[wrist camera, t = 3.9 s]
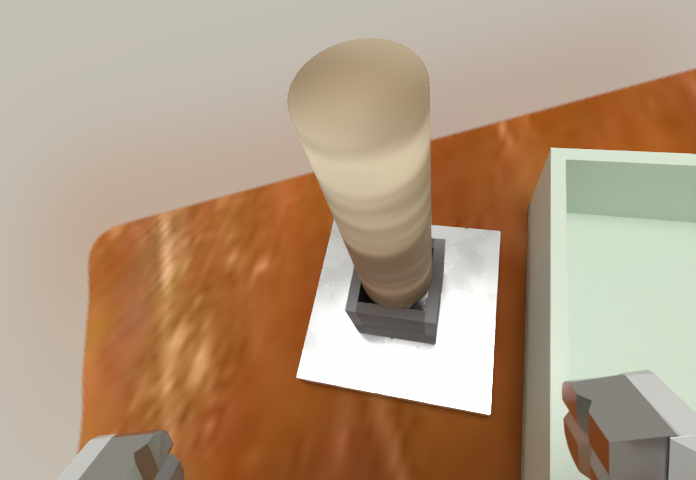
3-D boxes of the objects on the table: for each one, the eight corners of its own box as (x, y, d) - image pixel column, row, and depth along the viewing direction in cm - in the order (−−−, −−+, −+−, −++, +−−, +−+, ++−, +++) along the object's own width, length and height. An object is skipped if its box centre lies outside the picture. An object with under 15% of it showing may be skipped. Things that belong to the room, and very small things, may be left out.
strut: (435, 344, 27) (437, 167, 10) (358, 332, 28) (248, 156, 12) (443, 271, 29) (456, 24, 12) (371, 263, 30) (294, 28, 14)
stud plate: (487, 416, 26) (500, 407, 21) (302, 381, 29) (273, 364, 24) (497, 240, 31) (510, 196, 26) (338, 225, 34) (321, 183, 29)
